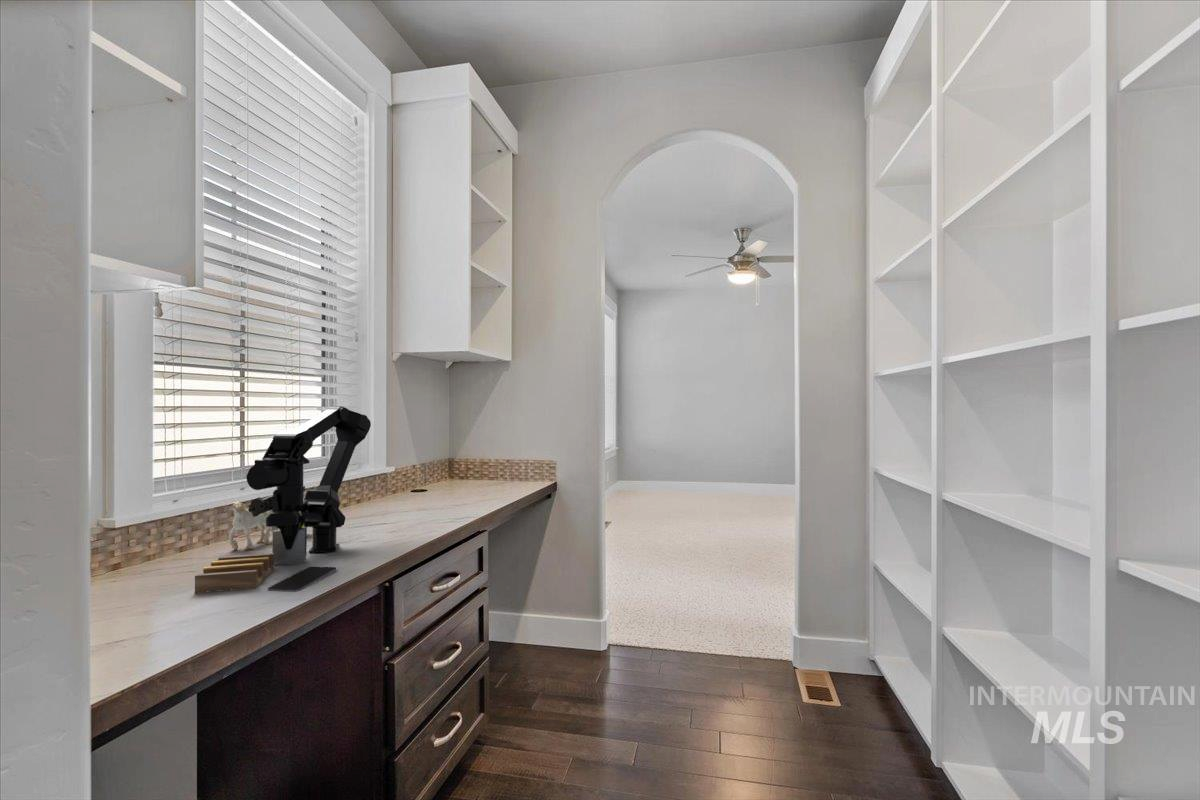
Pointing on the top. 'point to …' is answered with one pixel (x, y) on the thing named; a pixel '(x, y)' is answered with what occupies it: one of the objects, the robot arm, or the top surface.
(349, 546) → the top surface
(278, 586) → the smartphone
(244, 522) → the unicorn figurine
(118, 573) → the top surface
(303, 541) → the block
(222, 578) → the rack
